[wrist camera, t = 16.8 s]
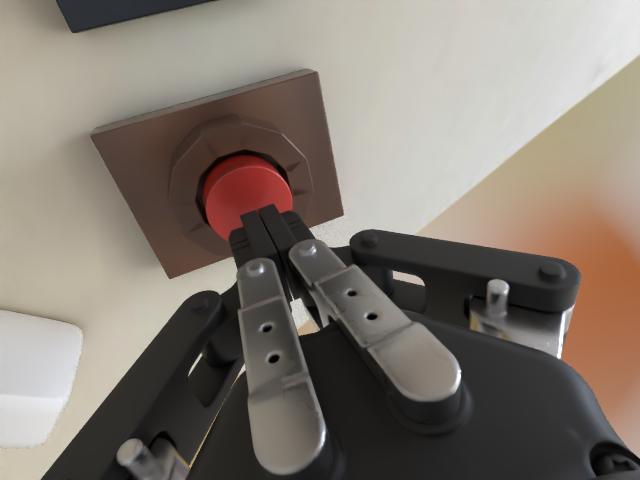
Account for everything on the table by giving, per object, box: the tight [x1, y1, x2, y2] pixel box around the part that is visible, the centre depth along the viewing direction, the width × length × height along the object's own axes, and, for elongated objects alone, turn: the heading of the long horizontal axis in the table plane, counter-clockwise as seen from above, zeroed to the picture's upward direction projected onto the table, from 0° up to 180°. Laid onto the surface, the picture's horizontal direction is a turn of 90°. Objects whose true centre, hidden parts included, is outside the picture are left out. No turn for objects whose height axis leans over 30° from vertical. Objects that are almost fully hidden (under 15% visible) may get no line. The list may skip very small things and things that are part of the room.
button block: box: [91, 69, 344, 279], centre depth 20 cm, size 11×8×4 cm
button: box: [203, 155, 292, 241], centre depth 18 cm, size 4×4×2 cm
